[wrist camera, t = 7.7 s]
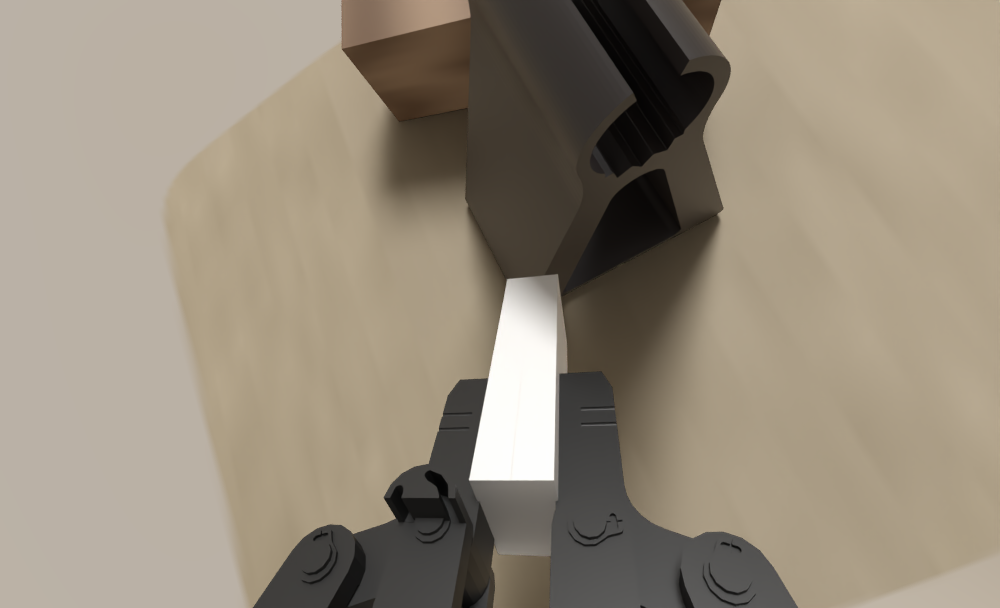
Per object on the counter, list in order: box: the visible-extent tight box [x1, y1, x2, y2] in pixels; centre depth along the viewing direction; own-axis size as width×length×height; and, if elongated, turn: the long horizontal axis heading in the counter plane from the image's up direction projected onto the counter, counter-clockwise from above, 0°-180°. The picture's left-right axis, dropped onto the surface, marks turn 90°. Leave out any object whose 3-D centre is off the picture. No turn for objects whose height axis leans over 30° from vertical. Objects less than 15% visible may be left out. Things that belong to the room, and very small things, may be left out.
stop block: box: [342, 0, 721, 121], centre depth 18 cm, size 14×3×5 cm, turn 94°
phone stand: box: [465, 0, 731, 297], centre depth 13 cm, size 9×6×12 cm, turn 116°
